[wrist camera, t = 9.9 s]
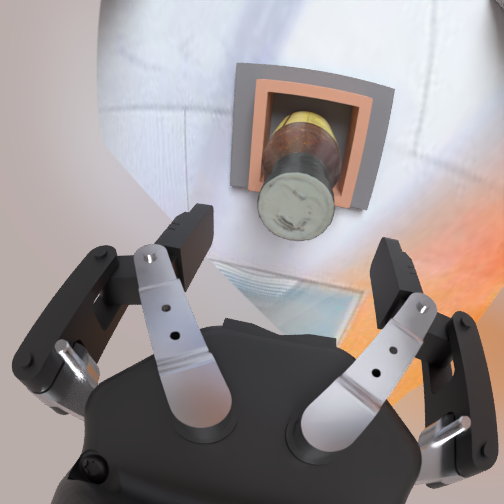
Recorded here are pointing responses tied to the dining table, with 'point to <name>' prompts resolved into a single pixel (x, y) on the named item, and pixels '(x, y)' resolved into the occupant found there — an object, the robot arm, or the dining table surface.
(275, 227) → the sauce bottle
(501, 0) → the coffee box
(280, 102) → the planter box on base
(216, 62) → the dining table surface
